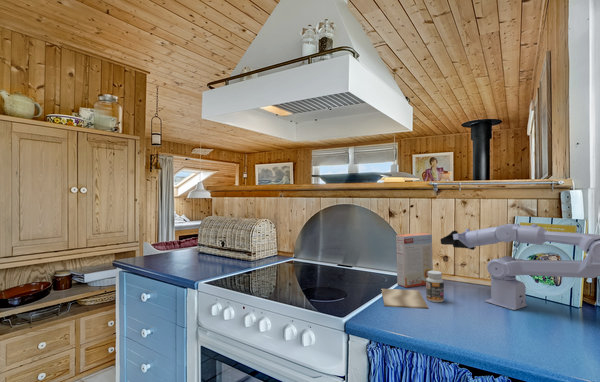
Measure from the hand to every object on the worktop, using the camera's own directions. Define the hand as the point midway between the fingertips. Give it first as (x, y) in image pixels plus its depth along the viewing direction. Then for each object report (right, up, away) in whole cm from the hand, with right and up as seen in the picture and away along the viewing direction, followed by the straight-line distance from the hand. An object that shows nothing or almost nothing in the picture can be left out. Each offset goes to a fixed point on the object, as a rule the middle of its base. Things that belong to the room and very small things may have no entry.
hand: (447, 243), depth 125 cm
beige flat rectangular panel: (-21, -18, -10) cm, 30 cm away
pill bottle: (-10, -18, -12) cm, 24 cm away
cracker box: (-10, -18, +7) cm, 22 cm away
